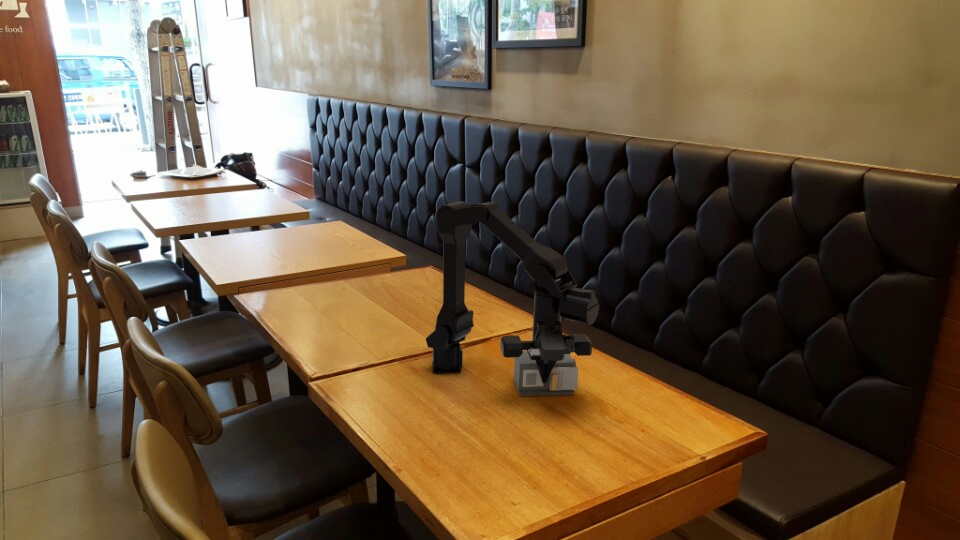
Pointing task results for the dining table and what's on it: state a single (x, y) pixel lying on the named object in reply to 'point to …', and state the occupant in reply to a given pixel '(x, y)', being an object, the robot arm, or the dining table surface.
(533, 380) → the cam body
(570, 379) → the side door
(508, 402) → the dining table surface
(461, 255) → the robot arm
